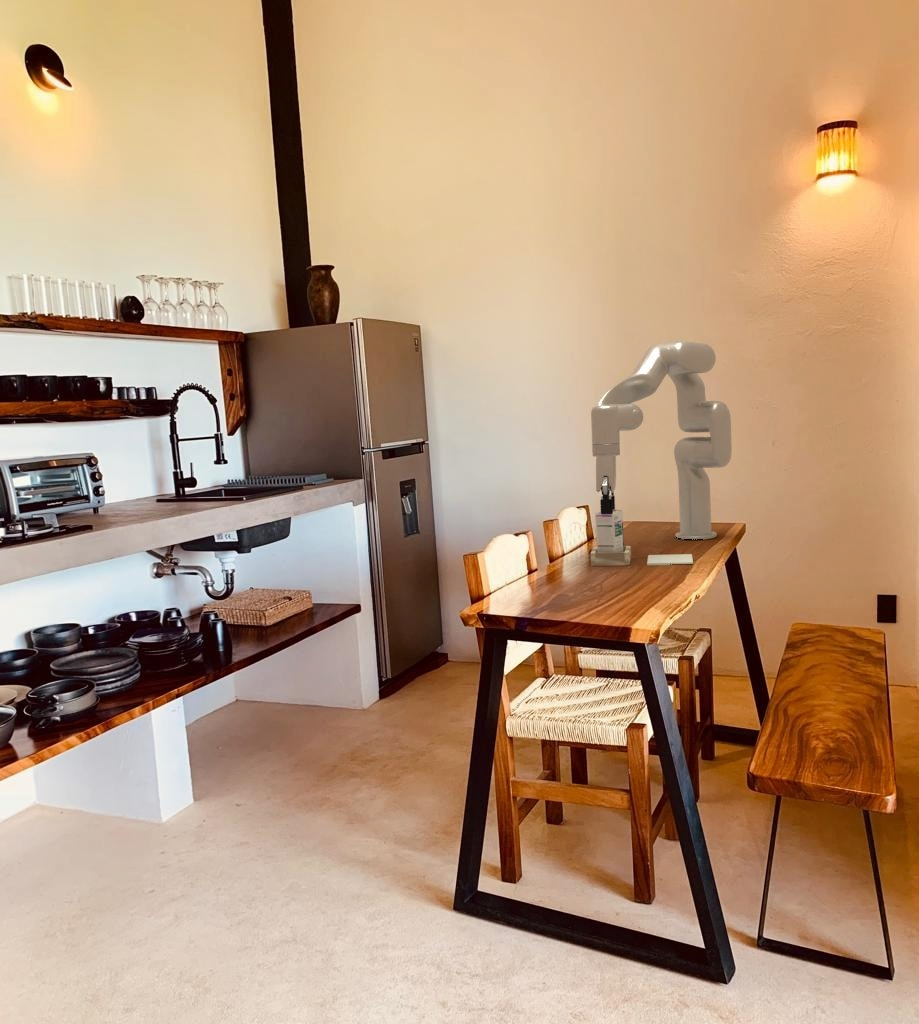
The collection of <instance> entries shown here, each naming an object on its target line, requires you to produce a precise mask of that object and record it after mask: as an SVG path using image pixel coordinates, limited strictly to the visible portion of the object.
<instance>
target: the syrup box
mask: <svg viewBox="0 0 919 1024" xmlns="http://www.w3.org/2000/svg"><path fill="white" fill-rule="evenodd" d="M594 515H595V516H594V517H595V531H596V532H595V534H596V547H597V552H598V553H599V552H625V548H624V546H625V535H624V517H623V516H624V515H623V510H621V509H615V510H613V513H612V514H601V511H599V512H595V513H594Z"/></svg>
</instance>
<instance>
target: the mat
mask: <svg viewBox="0 0 919 1024" xmlns="http://www.w3.org/2000/svg"><path fill="white" fill-rule="evenodd" d="M646 564H647V566H673V565H672V564H693V565H694V560H693V554H692V553H686V554H685V553H683V554H681V553H680V554H648V556H647V562H646ZM670 564H671V565H670Z"/></svg>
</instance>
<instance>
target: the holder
mask: <svg viewBox="0 0 919 1024" xmlns="http://www.w3.org/2000/svg"><path fill="white" fill-rule="evenodd" d="M624 548H625V552H599V553H598V552H597V546H593V548H592V549H591V552H590V566H591V567H597V566H598V567H602V566H603V567H605V566H606V567H607V566H630V564H631V559H632V547H631V545H624Z"/></svg>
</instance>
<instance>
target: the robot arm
mask: <svg viewBox="0 0 919 1024" xmlns="http://www.w3.org/2000/svg"><path fill="white" fill-rule="evenodd" d="M716 357H717V356H716V353H715V350H714V348H712V346H711V345H709V344H708V343H704V342H703V343H701V342H693V341H685V340H683V341H682V340H681V341H671V342H670V341H669V342H668V341H667V342H660V343H656V344H653V345H652V346H650V347H649V348H648V349H647V350H646V351H645V353H644V355H643V357H642V358H641V360H640V361H639V363H638V364H637V366H636V367H635V368H634V370H633V372H632V373H631V375H629V376H628V377H626V378H625V379H623V380H621V381H620V382H618V383H617V384H615V385H614V386H613V387H611V388H610V389H608V390H607V391H606V392H605V393H604V395H603V396H602V397H601V399H600V400H599V402H598V403H597V404H596V406H593V407H592V409H591V411H590V419H591V421H590V422H591V443H592V444H591V448H592V453H591V454H592V457H596V459H595V490H596V492H597V493H600V501H599V503H600V512H601V514H612V513H613V510H616V504H615V503H616V502H615V499H616V498H615V490H616V486H617V485H616V484H617V460H616V459H617V457H618V456H621V444H620V443H621V442H620V440H621V439H620V432H627V431H633V430H636V429H638V428H639V427H640V426H641V424H642V423H643V420H644V413H643V410H642V409H641V407H639V406H638V405H637V404H634V403H635V402H638V401H641V400H643V399H646V398H648V397H650V396H652V395H653V394H655V393H656V391H658V388H659V387H660V385H661V383H662V382H663V380H664V379H665V377H666V376H668V377H669V378H670V379H671V380H672V382H673V384H674V386H675V391H676V403H677V405H676V407H677V423H678V427H679V429H680V430H681V431H682V432H684V433H692V434H693V433H697V434H698V433H699V434H700V433H709V435H710V436H690V437H689V436H687V437H683V438H681V439H679V440H678V441H677V442H676V443H675V445H674V450H673V452H674V454H673V455H674V460H675V465H676V470H677V477H678V478H677V479H678V502H679V503H678V504H679V505H678V506H679V510H678V511H679V531H678V532H675V534H674V535H675V536H676V537H677V538H676V537H675V536H674V537H675V538H676V539H678V538H681V539H680V540H684V539H692V540H691V541H698V540H697V539H703V540H709V539H714V538H716V537H717V532H716V531H712V509H711V481H710V478H709V475H708V474H707V471H706V470H705V469H704V468H709V469H712V468H713V469H715V468H718V469H719V468H723V467H727V465H729V463H730V461H731V459H732V458H731V457H732V453H733V452H732V445H733V444H732V419H731V412H730V408H729V407H728V405H727V404H726V403H724V402H723V401H721V400H707V399H706V390H705V389H706V387H705V383H704V380H703V379H702V377H701V376H700V375H699V374H704V373H705V374H706V373H708V372H710V371H711V370H712V369H713V368H714V366H715V364H716ZM616 456H617V457H616ZM693 539H694V540H693ZM695 539H696V540H695Z"/></svg>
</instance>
